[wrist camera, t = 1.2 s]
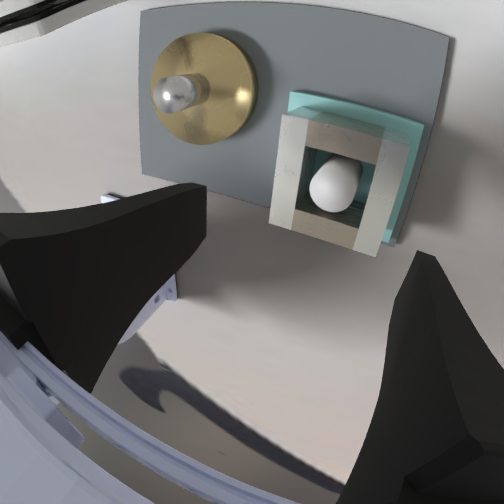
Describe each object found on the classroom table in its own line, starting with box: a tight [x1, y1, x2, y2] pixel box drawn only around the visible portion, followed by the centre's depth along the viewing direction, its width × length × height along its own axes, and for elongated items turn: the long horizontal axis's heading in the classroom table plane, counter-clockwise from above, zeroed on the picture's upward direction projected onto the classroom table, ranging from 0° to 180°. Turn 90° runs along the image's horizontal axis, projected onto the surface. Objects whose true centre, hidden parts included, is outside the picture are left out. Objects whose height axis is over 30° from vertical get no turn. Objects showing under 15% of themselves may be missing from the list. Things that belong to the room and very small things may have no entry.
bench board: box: [139, 2, 449, 247], centre depth 17 cm, size 12×18×1 cm
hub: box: [150, 33, 259, 145], centre depth 16 cm, size 7×7×4 cm
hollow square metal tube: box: [269, 106, 410, 257], centre depth 15 cm, size 6×6×3 cm
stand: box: [288, 91, 424, 243], centre depth 15 cm, size 7×7×4 cm
